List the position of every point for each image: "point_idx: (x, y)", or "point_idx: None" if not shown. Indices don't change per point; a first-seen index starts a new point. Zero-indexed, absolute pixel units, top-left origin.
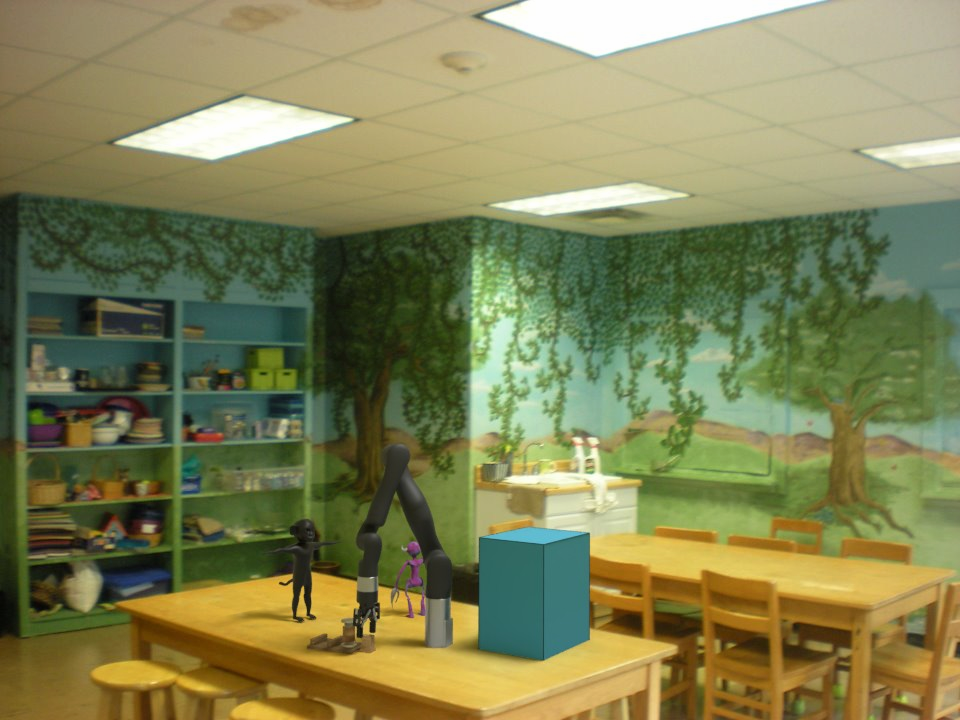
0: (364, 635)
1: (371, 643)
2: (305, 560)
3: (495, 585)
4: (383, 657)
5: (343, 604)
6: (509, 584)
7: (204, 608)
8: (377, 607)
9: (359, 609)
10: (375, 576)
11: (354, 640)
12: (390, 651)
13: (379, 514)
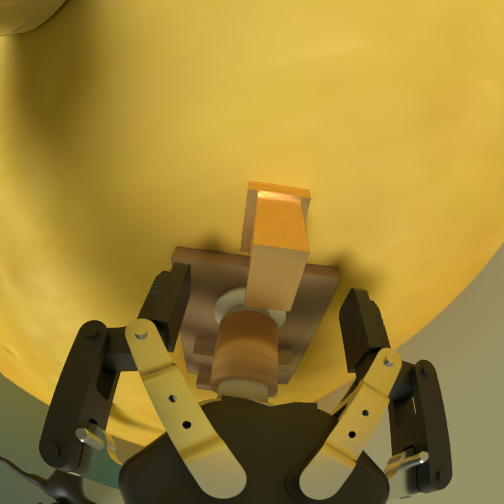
0: (289, 295)
1: (296, 219)
2: (70, 482)
3: None
4: (357, 99)
5: (10, 352)
6: None
7: (143, 437)
8: (87, 439)
9: (443, 486)
10: None
11: (248, 313)
12: (212, 103)
13: None
